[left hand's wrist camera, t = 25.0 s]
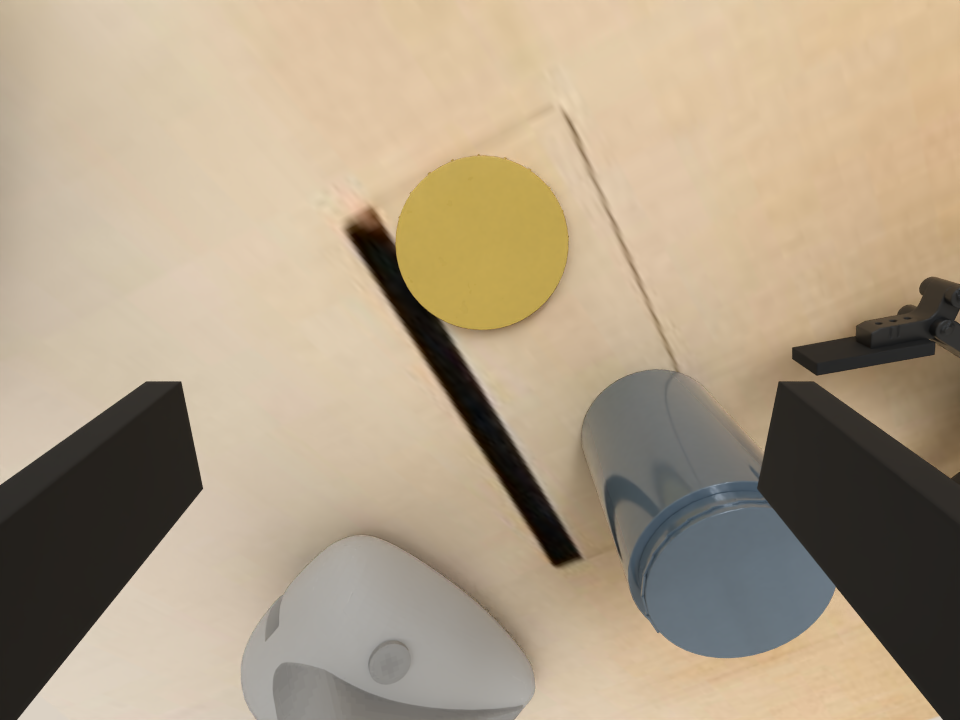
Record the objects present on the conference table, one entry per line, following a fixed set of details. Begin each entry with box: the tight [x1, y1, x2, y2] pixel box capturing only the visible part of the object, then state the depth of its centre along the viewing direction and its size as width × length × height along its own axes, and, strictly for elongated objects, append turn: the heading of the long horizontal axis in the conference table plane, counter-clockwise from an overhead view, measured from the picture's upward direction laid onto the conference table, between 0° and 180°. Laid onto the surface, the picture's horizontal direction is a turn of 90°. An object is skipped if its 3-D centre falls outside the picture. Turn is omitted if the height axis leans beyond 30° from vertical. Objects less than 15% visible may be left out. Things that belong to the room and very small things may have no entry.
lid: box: [395, 154, 569, 330], centre depth 37 cm, size 11×11×2 cm
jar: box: [581, 370, 836, 658], centre depth 35 cm, size 10×10×16 cm
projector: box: [241, 535, 535, 720], centre depth 42 cm, size 22×23×15 cm
